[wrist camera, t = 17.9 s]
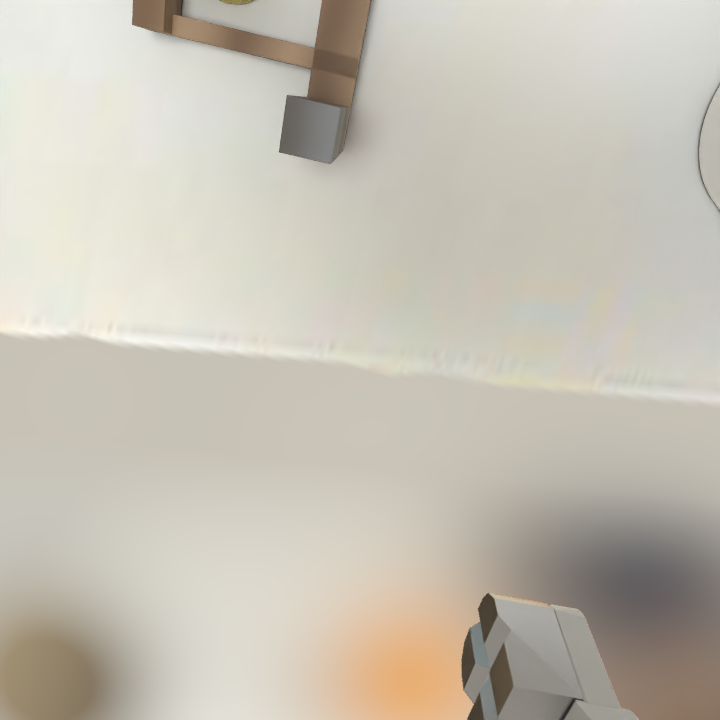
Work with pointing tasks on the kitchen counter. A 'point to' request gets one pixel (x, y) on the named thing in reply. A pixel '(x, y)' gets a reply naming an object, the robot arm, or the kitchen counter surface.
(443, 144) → the kitchen counter surface
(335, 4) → the frame
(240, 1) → the vase
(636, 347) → the kitchen counter surface
